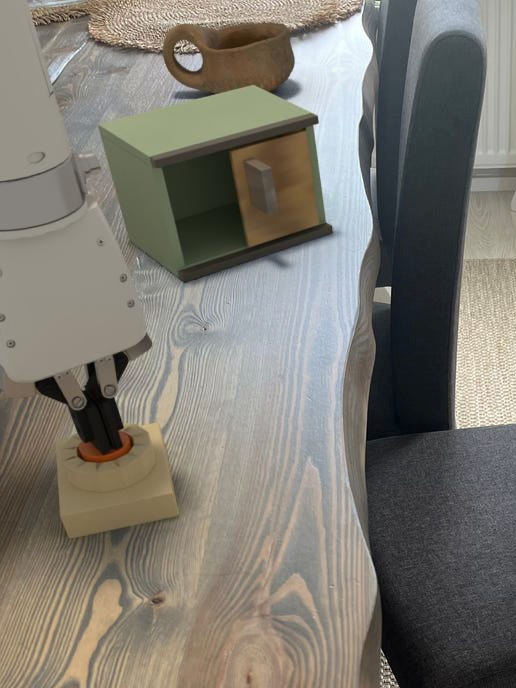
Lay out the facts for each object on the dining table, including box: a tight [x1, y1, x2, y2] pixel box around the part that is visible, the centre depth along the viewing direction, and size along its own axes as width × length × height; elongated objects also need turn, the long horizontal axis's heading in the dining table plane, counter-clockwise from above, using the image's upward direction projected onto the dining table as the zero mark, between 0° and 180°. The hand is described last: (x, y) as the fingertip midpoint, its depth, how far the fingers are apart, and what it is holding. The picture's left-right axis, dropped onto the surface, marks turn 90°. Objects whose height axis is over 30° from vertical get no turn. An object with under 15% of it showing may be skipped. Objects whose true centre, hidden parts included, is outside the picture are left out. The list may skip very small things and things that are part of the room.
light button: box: [79, 430, 132, 463], centre depth 75 cm, size 4×4×2 cm
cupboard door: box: [229, 130, 319, 247], centre depth 103 cm, size 9×4×10 cm, turn 128°
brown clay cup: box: [162, 22, 296, 95], centre depth 141 cm, size 18×14×10 cm
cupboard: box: [97, 85, 334, 283], centre depth 106 cm, size 18×13×12 cm
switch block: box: [55, 421, 180, 540], centre depth 76 cm, size 10×8×4 cm
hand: (105, 442), depth 75 cm, fingers closed
